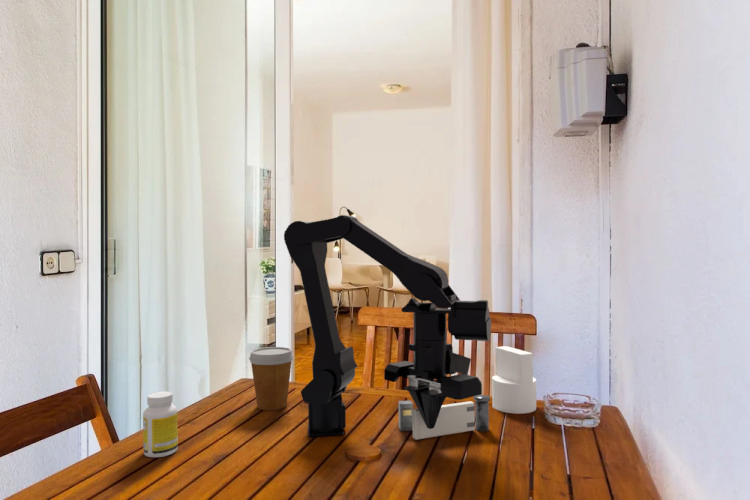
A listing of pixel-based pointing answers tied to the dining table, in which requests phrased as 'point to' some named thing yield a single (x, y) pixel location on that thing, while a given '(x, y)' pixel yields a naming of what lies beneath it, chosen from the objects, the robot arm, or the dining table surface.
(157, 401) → the supplement bottle
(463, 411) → the long white bar
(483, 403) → the hinge post
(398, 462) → the dining table surface
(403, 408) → the post
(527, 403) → the base with upright slab
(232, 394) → the dining table surface
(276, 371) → the disposable coffee cup
